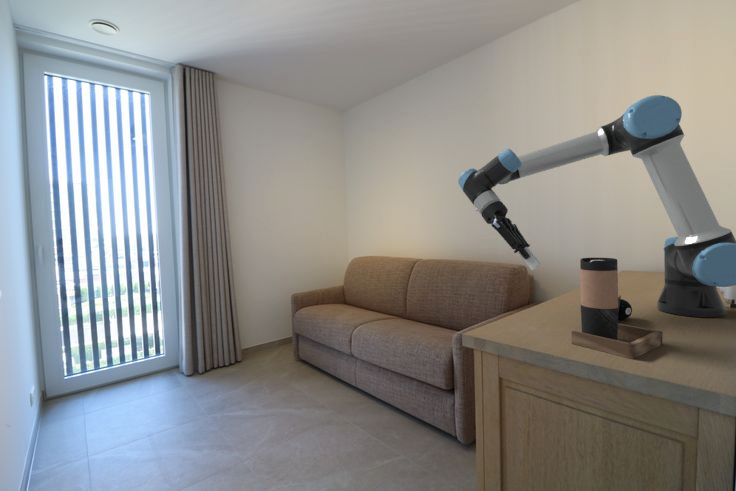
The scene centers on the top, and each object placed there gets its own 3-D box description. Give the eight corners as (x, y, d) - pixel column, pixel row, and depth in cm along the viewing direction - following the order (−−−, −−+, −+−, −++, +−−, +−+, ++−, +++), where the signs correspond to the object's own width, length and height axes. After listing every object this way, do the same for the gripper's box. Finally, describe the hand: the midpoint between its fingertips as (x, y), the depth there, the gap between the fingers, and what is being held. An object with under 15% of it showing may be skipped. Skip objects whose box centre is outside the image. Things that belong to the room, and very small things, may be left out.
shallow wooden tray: (602, 331, 90) (602, 320, 90) (662, 344, 80) (662, 331, 79) (571, 343, 83) (571, 331, 82) (632, 359, 72) (632, 345, 72)
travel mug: (615, 337, 86) (614, 257, 85) (621, 347, 79) (621, 260, 78) (579, 334, 89) (578, 257, 88) (583, 343, 82) (581, 260, 81)
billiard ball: (620, 322, 98) (620, 301, 97) (601, 317, 103) (601, 297, 103) (637, 320, 99) (637, 300, 99) (617, 315, 105) (617, 296, 104)
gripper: (491, 218, 117) (534, 275, 106) (471, 213, 108) (516, 274, 97) (509, 203, 113) (555, 260, 101) (489, 196, 104) (538, 258, 93)
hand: (536, 267), depth 99 cm, fingers closed
